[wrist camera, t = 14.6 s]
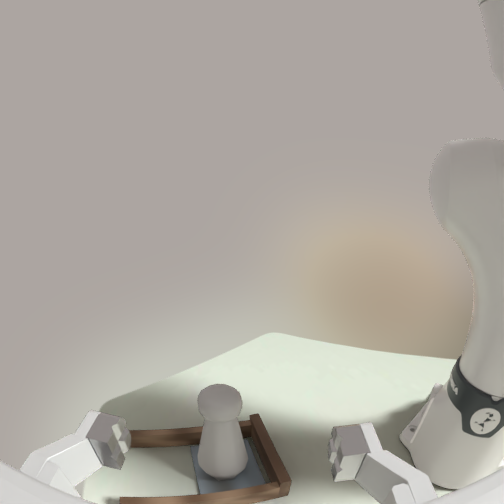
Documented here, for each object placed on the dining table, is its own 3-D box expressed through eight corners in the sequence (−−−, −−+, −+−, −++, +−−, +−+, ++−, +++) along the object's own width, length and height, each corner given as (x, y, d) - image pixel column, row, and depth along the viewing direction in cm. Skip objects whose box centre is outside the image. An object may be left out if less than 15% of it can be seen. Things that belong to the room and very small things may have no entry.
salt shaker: (190, 462, 30) (178, 386, 27) (228, 445, 33) (226, 369, 30) (217, 493, 25) (210, 421, 22) (257, 472, 29) (262, 397, 26)
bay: (257, 430, 37) (258, 413, 36) (288, 495, 26) (291, 480, 25) (126, 442, 32) (120, 425, 31) (126, 513, 21) (117, 499, 20)
